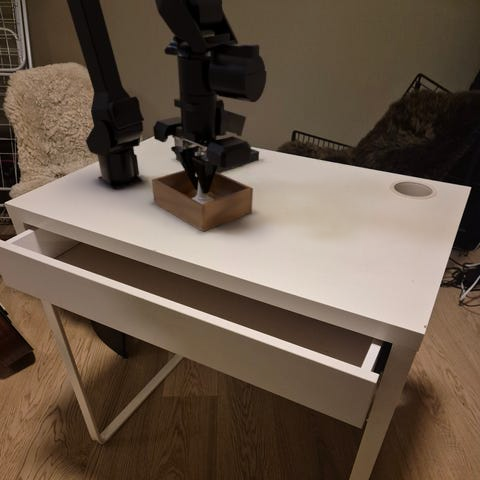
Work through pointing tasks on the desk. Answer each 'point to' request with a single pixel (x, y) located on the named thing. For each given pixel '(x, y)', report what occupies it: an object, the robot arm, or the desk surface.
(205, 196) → the chess piece
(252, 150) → the tray
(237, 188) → the wooden box
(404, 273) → the desk surface
